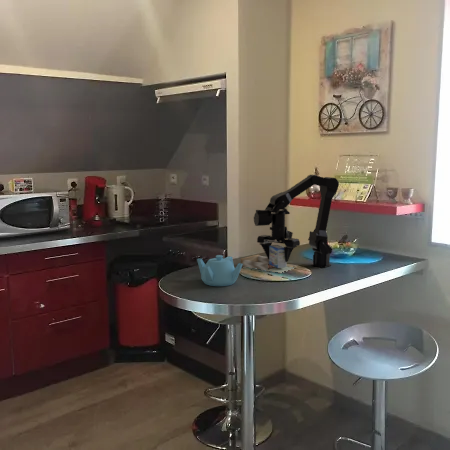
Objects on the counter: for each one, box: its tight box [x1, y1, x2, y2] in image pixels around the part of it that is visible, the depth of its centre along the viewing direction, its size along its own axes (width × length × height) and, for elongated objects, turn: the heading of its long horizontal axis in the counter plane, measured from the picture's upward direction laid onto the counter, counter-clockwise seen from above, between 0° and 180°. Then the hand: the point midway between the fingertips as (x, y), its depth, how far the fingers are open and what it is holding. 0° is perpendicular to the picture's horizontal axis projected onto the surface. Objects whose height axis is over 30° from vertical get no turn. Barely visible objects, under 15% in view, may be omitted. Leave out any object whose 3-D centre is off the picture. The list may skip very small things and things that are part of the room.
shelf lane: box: [240, 254, 269, 272], centre depth 228 cm, size 14×12×4 cm
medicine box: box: [268, 244, 288, 268], centre depth 223 cm, size 8×4×9 cm, turn 25°
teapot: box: [196, 254, 243, 287], centre depth 200 cm, size 15×15×11 cm
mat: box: [266, 265, 296, 274], centre depth 222 cm, size 7×12×1 cm, turn 140°
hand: (277, 260), depth 223 cm, fingers closed on medicine box, 9 cm apart
